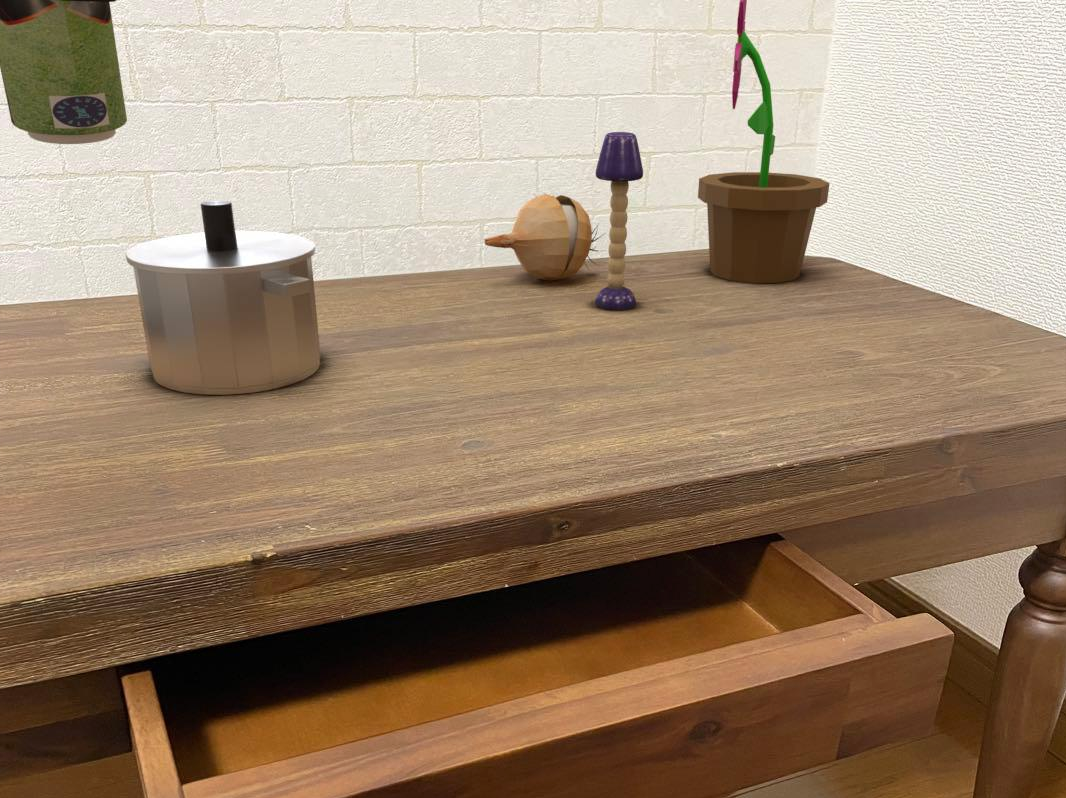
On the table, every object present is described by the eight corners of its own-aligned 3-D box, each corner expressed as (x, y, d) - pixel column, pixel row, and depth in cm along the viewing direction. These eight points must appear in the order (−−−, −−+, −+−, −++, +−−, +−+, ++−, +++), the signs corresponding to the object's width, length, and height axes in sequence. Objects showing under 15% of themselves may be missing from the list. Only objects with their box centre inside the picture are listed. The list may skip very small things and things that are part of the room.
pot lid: (195, 292, 75) (186, 227, 73) (92, 263, 83) (81, 203, 81) (353, 260, 84) (348, 201, 82) (246, 237, 93) (240, 183, 91)
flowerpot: (696, 257, 128) (716, -18, 115) (815, 263, 126) (850, -18, 112) (688, 283, 116) (709, -22, 102) (820, 290, 113) (860, -22, 100)
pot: (235, 415, 78) (218, 288, 73) (105, 364, 89) (83, 250, 84) (373, 373, 87) (365, 257, 83) (240, 331, 98) (227, 227, 94)
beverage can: (124, 136, 63) (92, -96, 58) (138, 147, 57) (104, -111, 52) (9, 137, 60) (-35, -105, 55) (10, 148, 54) (-39, -122, 49)
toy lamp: (642, 310, 105) (651, 135, 98) (598, 313, 105) (603, 136, 97) (629, 299, 110) (636, 130, 102) (586, 301, 109) (590, 130, 101)
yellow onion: (631, 204, 114) (512, 177, 107) (617, 290, 116) (499, 270, 108) (586, 206, 122) (472, 181, 114) (574, 286, 124) (461, 267, 116)
